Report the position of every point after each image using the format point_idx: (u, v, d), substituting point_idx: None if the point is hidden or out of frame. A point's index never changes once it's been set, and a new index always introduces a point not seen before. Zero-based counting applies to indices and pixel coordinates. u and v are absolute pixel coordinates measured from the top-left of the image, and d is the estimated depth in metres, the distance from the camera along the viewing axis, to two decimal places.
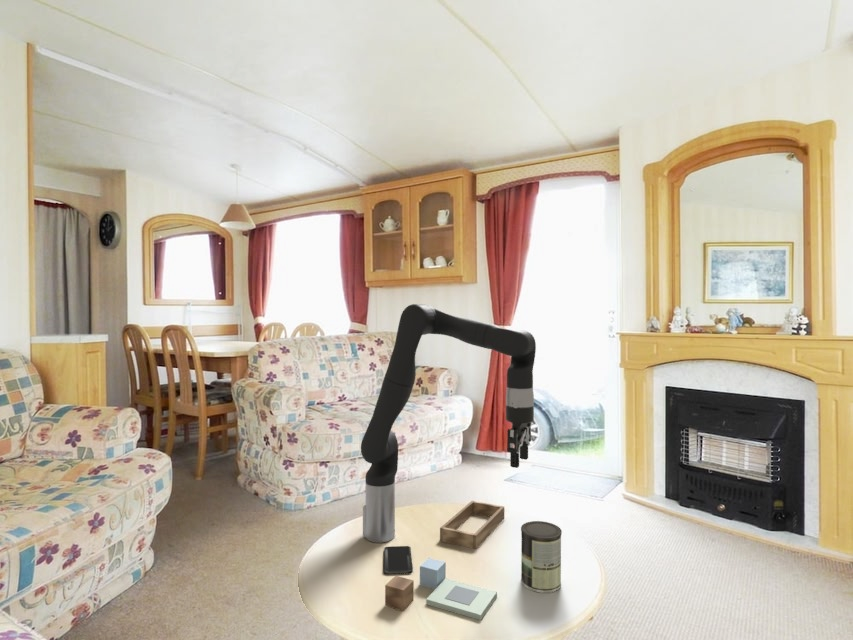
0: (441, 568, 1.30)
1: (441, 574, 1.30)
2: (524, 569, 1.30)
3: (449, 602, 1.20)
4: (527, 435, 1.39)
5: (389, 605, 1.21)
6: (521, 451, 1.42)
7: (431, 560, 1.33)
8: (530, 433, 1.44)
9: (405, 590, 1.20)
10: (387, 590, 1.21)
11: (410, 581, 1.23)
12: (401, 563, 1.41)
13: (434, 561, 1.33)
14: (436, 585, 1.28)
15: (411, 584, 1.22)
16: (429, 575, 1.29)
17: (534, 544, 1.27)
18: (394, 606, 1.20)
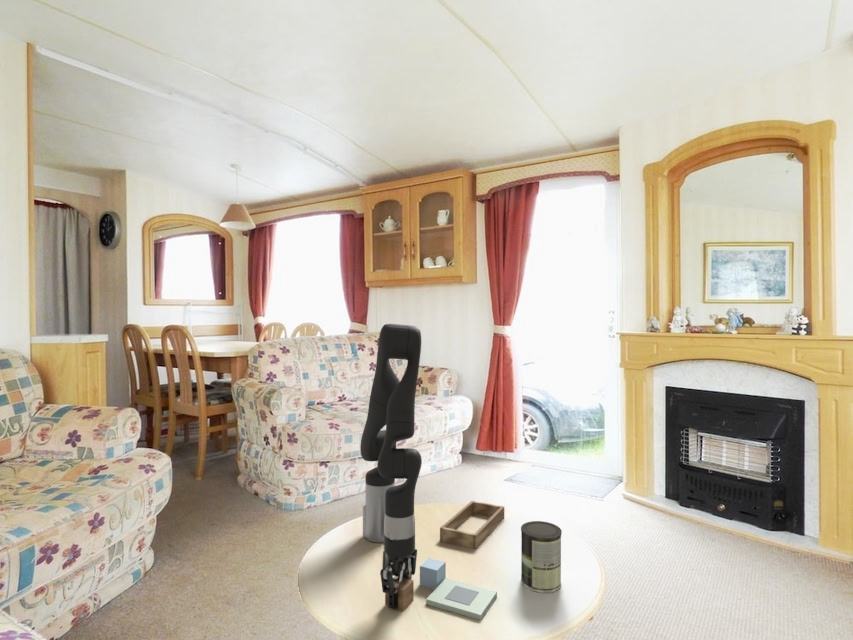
0: (441, 568, 1.30)
1: (441, 574, 1.30)
2: (524, 569, 1.30)
3: (449, 602, 1.20)
4: (408, 567, 1.23)
5: None
6: None
7: (431, 560, 1.33)
8: (415, 564, 1.27)
9: (405, 590, 1.20)
10: None
11: (410, 581, 1.23)
12: None
13: (434, 561, 1.33)
14: (436, 585, 1.28)
15: (411, 584, 1.22)
16: (429, 575, 1.29)
17: (534, 544, 1.27)
18: None
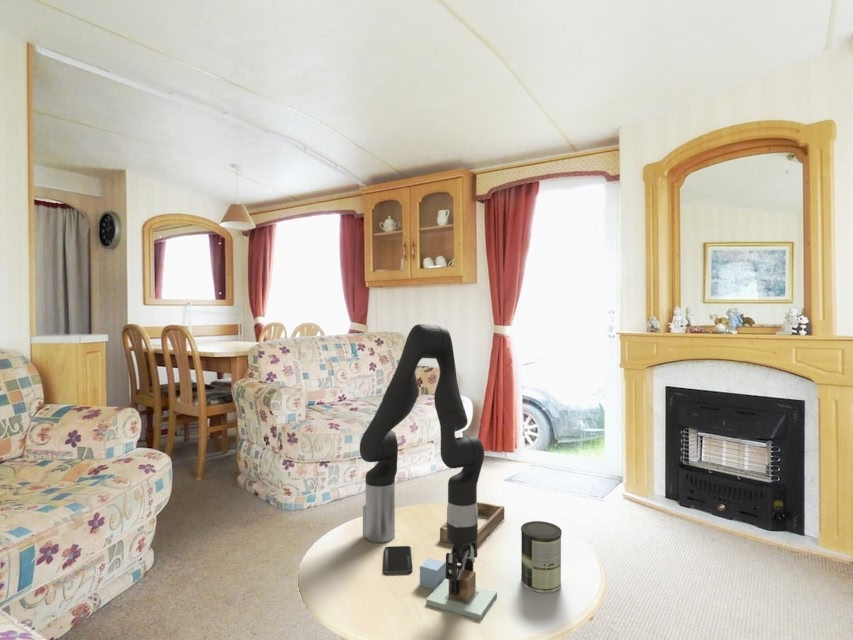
0: (441, 568, 1.30)
1: (441, 574, 1.30)
2: (524, 569, 1.30)
3: (449, 602, 1.20)
4: (471, 554, 1.24)
5: (453, 596, 1.22)
6: (465, 569, 1.27)
7: (431, 560, 1.33)
8: (476, 547, 1.29)
9: (469, 581, 1.21)
10: None
11: (472, 573, 1.24)
12: (401, 563, 1.41)
13: (434, 561, 1.33)
14: (436, 585, 1.28)
15: (474, 576, 1.24)
16: (429, 575, 1.29)
17: (534, 544, 1.27)
18: (458, 597, 1.21)
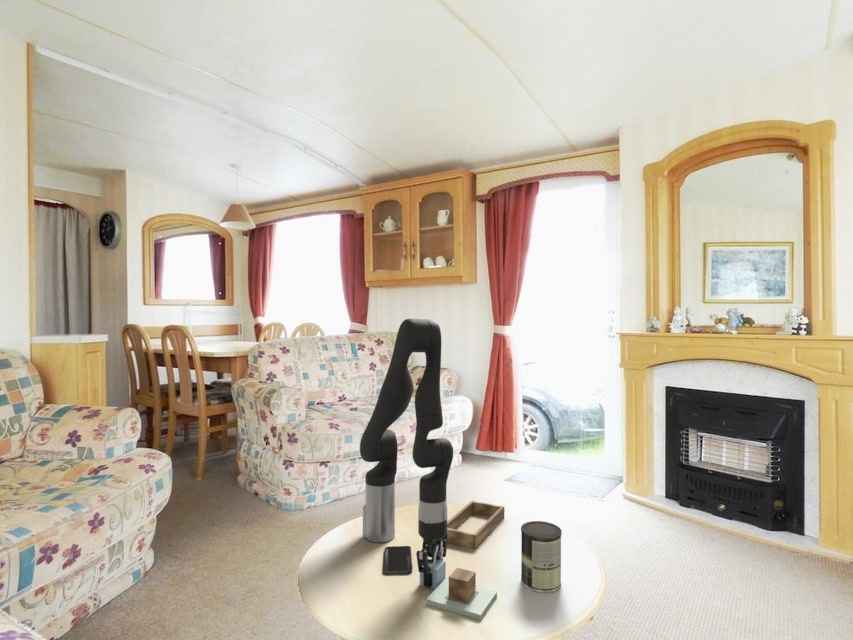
0: (441, 568, 1.30)
1: (441, 573, 1.30)
2: (524, 569, 1.30)
3: (449, 602, 1.20)
4: (440, 549, 1.32)
5: (453, 596, 1.22)
6: None
7: (431, 559, 1.33)
8: (446, 547, 1.36)
9: (469, 581, 1.21)
10: (451, 582, 1.22)
11: (472, 573, 1.24)
12: (401, 563, 1.41)
13: None
14: (436, 585, 1.28)
15: (474, 576, 1.24)
16: None
17: (534, 544, 1.27)
18: (458, 597, 1.21)
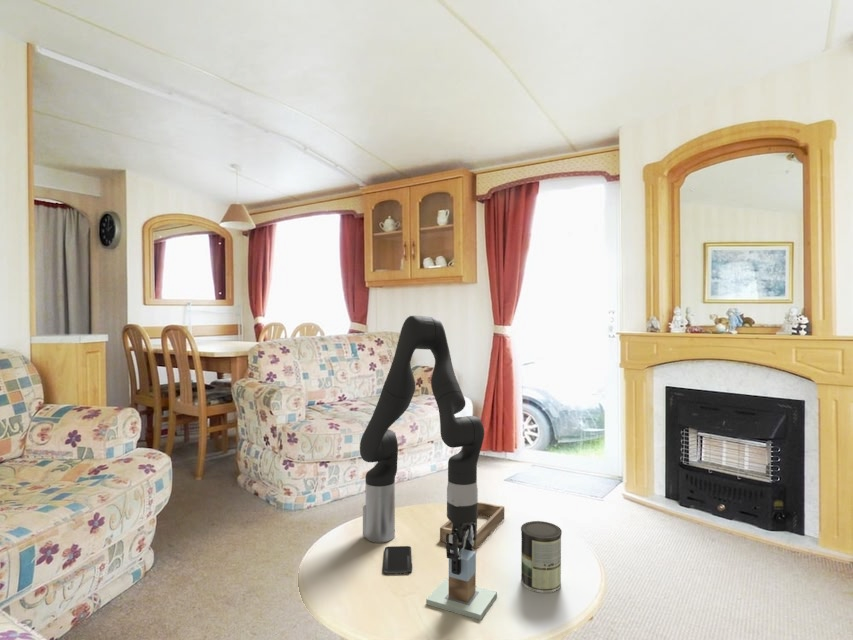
0: (471, 559, 1.22)
1: (472, 564, 1.22)
2: (524, 569, 1.30)
3: (449, 602, 1.20)
4: (471, 534, 1.24)
5: (453, 596, 1.22)
6: None
7: None
8: (476, 530, 1.28)
9: (469, 581, 1.21)
10: (451, 582, 1.22)
11: None
12: (400, 563, 1.41)
13: (464, 550, 1.25)
14: (467, 576, 1.20)
15: (474, 576, 1.24)
16: None
17: (534, 544, 1.27)
18: (458, 597, 1.21)
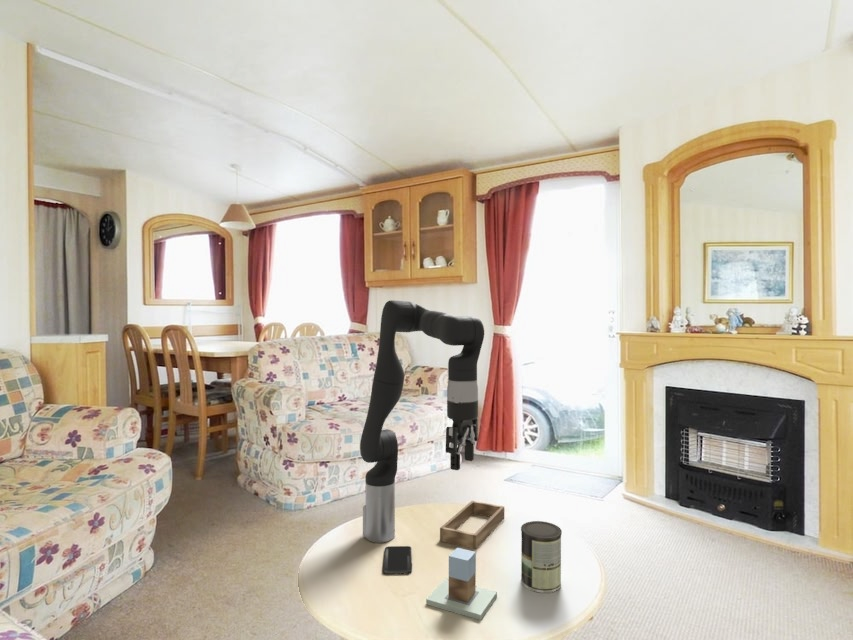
0: (471, 559, 1.22)
1: (472, 564, 1.22)
2: (524, 569, 1.30)
3: (449, 602, 1.20)
4: (471, 434, 1.24)
5: (453, 596, 1.22)
6: (466, 452, 1.27)
7: (460, 550, 1.25)
8: (477, 431, 1.28)
9: (469, 581, 1.21)
10: (451, 582, 1.22)
11: None
12: (400, 563, 1.41)
13: (464, 550, 1.25)
14: (467, 576, 1.20)
15: (474, 576, 1.24)
16: (459, 565, 1.21)
17: (534, 544, 1.27)
18: (458, 597, 1.21)
